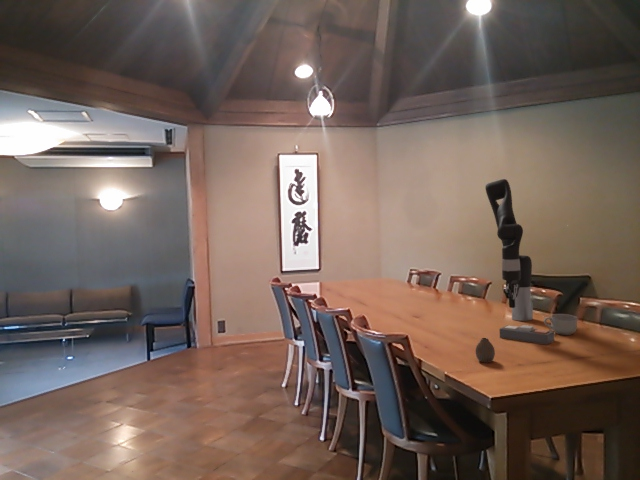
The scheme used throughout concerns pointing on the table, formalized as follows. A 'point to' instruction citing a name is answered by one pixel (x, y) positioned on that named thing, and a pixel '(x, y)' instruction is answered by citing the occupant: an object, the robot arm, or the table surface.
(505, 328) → the key ivory
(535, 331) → the key terracotta
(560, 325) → the teacup
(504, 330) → the keypad
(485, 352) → the vase
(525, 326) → the key grey
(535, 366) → the table surface
